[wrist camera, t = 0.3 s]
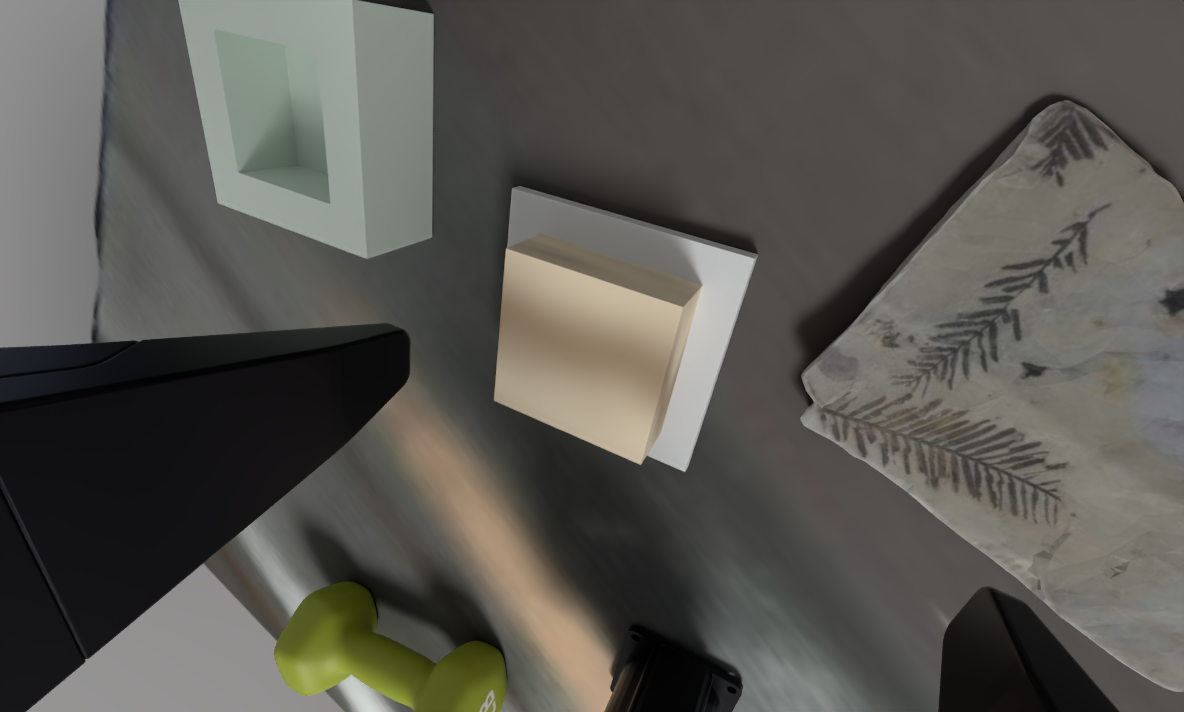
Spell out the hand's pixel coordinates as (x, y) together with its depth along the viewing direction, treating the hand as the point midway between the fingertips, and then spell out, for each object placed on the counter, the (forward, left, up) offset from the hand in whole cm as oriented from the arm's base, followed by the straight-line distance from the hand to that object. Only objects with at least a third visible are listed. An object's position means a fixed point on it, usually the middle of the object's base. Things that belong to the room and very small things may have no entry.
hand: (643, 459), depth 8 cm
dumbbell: (-35, +16, -14) cm, 41 cm away
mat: (-5, +6, -13) cm, 15 cm away
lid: (-5, +6, -13) cm, 15 cm away
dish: (+1, +20, -13) cm, 24 cm away
